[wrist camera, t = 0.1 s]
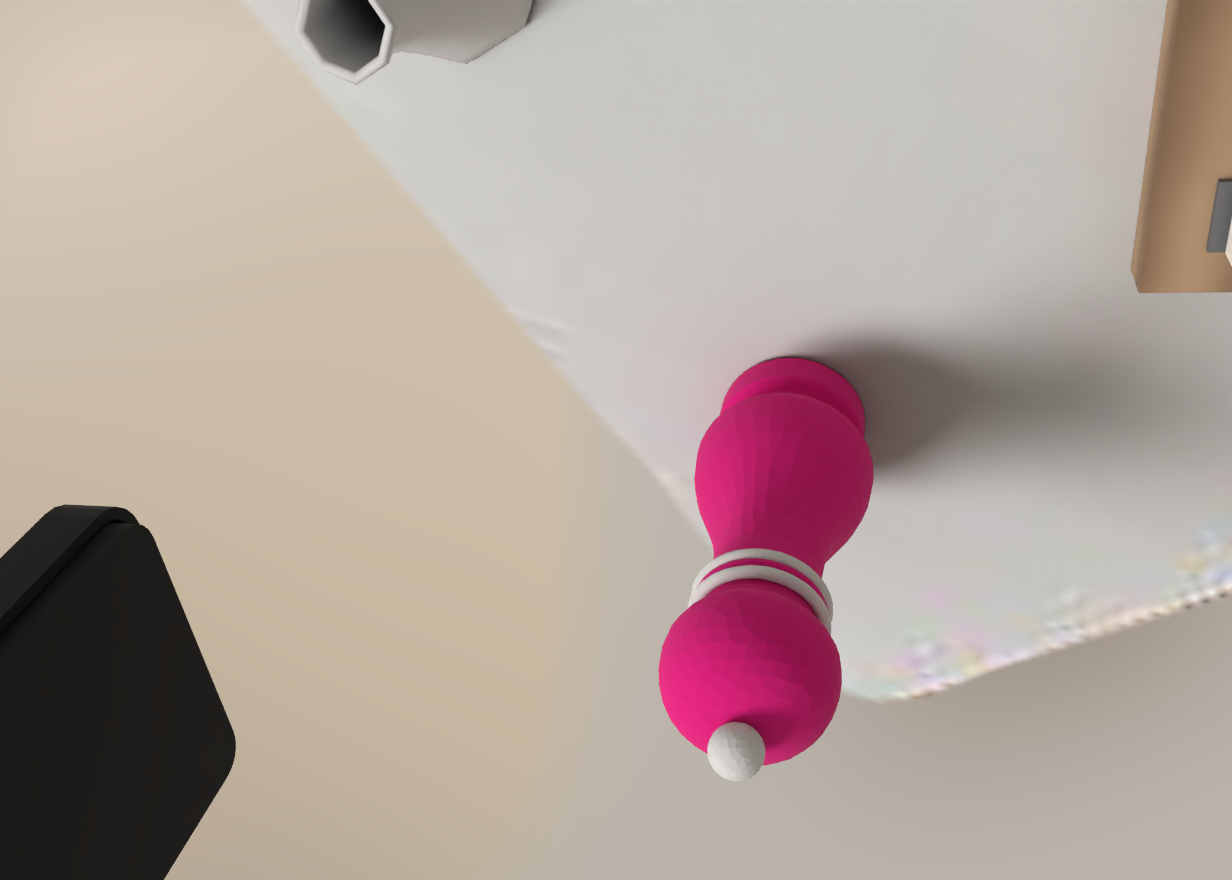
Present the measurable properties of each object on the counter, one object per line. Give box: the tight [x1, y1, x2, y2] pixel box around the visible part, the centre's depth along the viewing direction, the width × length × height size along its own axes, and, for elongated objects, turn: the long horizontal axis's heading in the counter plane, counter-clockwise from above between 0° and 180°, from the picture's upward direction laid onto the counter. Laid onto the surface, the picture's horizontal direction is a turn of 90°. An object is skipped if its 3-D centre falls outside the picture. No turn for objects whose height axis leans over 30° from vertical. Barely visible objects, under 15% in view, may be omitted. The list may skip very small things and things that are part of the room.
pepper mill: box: [659, 358, 873, 781], centre depth 43 cm, size 7×7×20 cm
